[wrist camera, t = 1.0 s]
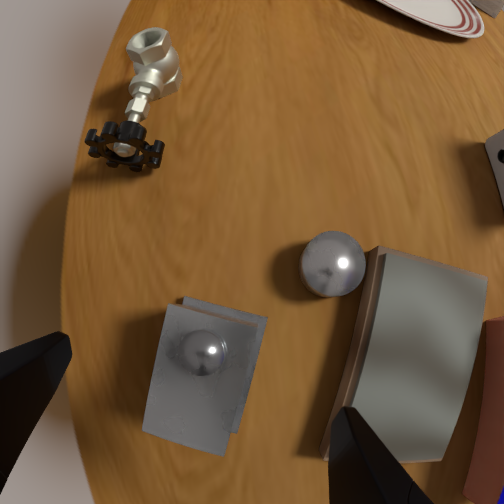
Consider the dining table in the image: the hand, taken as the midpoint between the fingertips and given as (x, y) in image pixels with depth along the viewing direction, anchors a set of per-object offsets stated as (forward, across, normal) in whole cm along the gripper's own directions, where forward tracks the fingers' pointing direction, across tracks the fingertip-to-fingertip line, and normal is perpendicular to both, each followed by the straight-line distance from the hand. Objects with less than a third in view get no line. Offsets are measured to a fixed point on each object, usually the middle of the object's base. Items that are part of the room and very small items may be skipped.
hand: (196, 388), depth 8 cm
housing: (+10, 0, +9) cm, 13 cm away
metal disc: (+14, -6, +1) cm, 16 cm away
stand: (+11, -15, +6) cm, 19 cm away
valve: (+21, +11, -7) cm, 25 cm away
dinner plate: (+38, -15, -40) cm, 57 cm away
